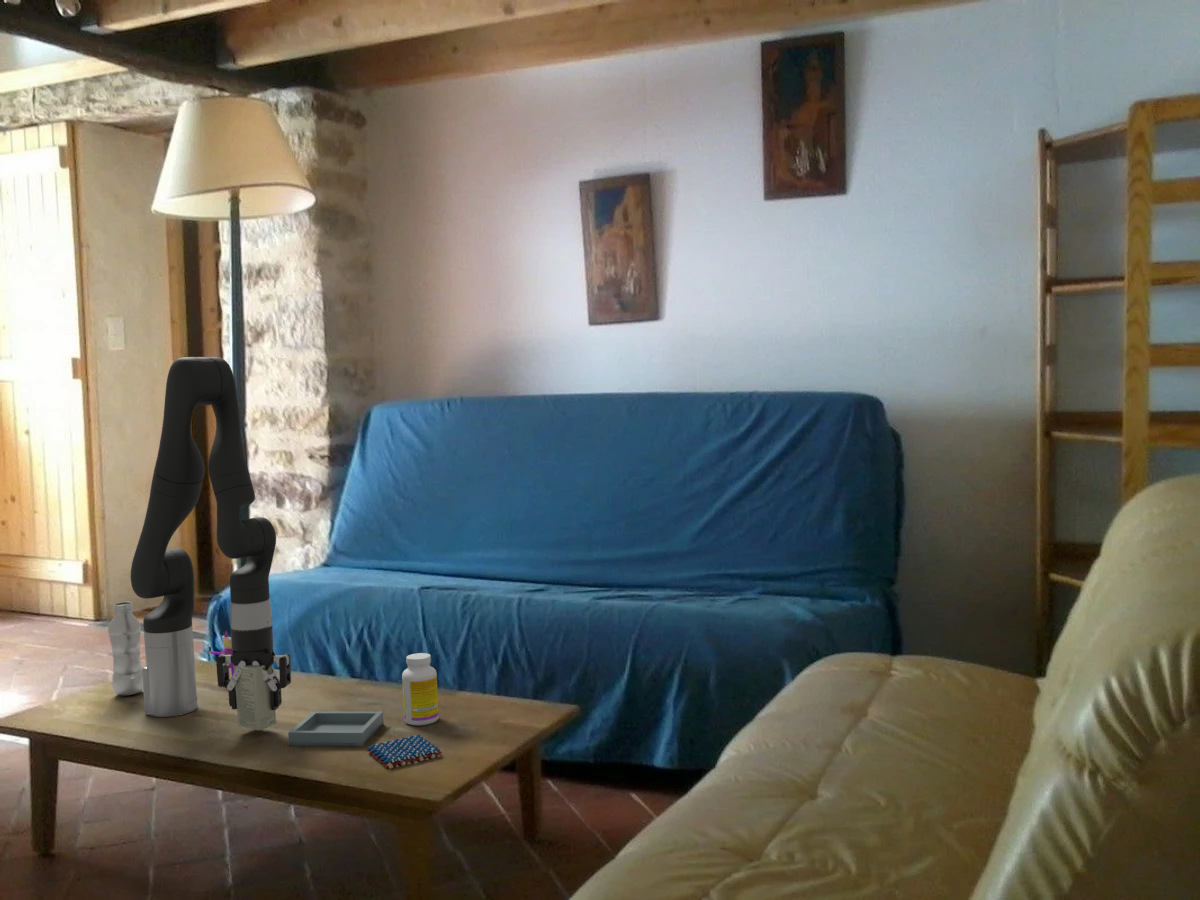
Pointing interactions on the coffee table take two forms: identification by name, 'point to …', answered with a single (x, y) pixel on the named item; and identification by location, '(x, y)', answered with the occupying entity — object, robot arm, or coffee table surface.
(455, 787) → the coffee table surface
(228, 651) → the wizard figurine
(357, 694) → the coffee table surface
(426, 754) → the woven mat
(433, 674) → the supplement bottle
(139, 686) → the plastic bottle
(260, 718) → the skincare box
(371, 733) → the tray
